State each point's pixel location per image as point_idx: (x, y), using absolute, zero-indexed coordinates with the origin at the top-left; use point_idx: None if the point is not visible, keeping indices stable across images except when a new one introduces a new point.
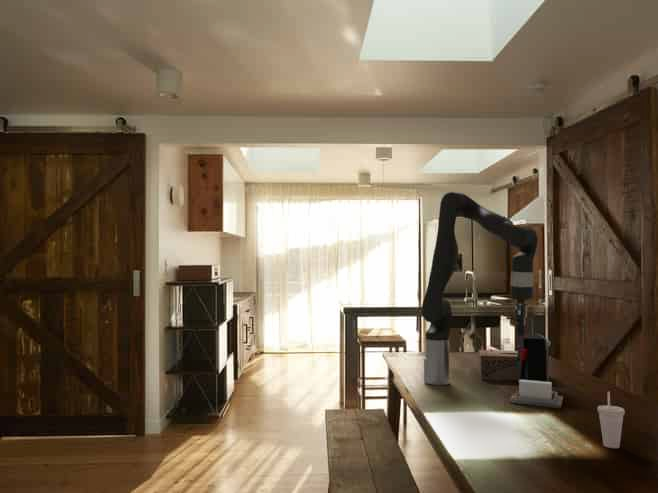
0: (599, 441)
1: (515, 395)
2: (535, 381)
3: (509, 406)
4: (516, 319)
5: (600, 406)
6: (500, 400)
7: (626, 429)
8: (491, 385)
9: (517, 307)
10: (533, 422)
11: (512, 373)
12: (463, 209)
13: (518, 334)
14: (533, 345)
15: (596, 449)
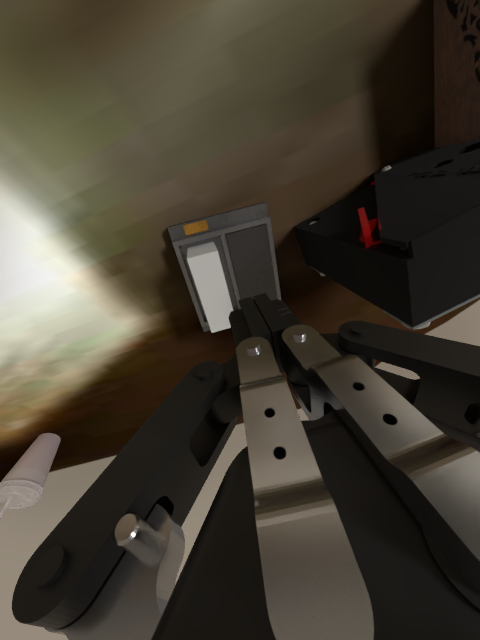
0: (54, 426)
1: (182, 240)
2: (219, 293)
3: (136, 239)
4: (161, 408)
5: (9, 488)
6: (177, 193)
7: None
8: (348, 80)
9: (155, 636)
10: (55, 329)
11: (457, 118)
12: None
13: (239, 305)
14: (383, 277)
15: (10, 435)
